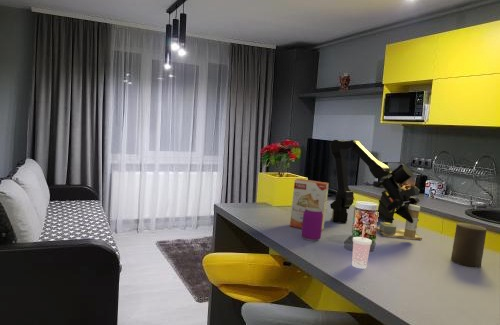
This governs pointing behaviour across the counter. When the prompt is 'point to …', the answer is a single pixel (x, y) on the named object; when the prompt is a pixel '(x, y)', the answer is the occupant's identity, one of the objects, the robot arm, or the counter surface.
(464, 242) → the pillar candle
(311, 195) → the cracker box
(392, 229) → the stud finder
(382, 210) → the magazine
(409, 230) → the sprinkles bottle
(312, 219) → the beverage can
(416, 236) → the plywood board
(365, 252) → the beverage cup
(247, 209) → the counter surface
